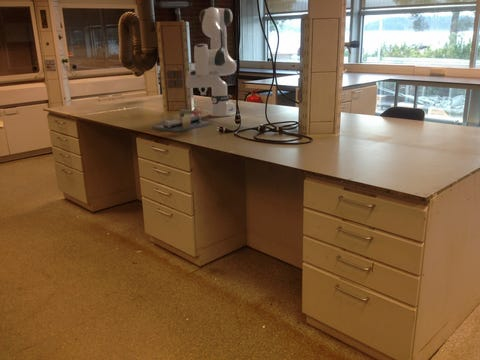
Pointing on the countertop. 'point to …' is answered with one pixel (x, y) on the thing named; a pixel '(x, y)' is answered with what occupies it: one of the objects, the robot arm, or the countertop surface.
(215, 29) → the robot arm
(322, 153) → the countertop surface
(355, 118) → the countertop surface
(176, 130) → the valve assembly
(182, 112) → the lever
